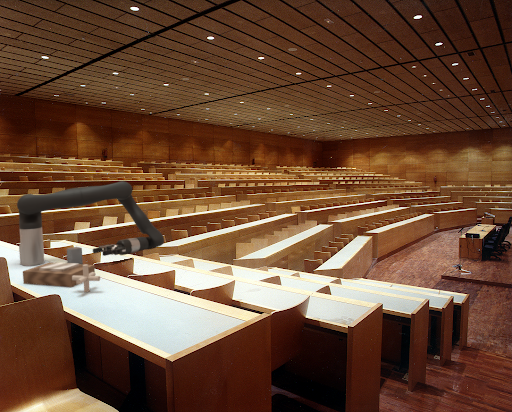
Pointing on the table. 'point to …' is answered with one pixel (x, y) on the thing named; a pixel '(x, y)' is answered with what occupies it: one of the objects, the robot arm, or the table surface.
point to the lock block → (74, 255)
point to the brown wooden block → (55, 274)
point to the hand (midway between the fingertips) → (98, 252)
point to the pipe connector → (86, 278)
